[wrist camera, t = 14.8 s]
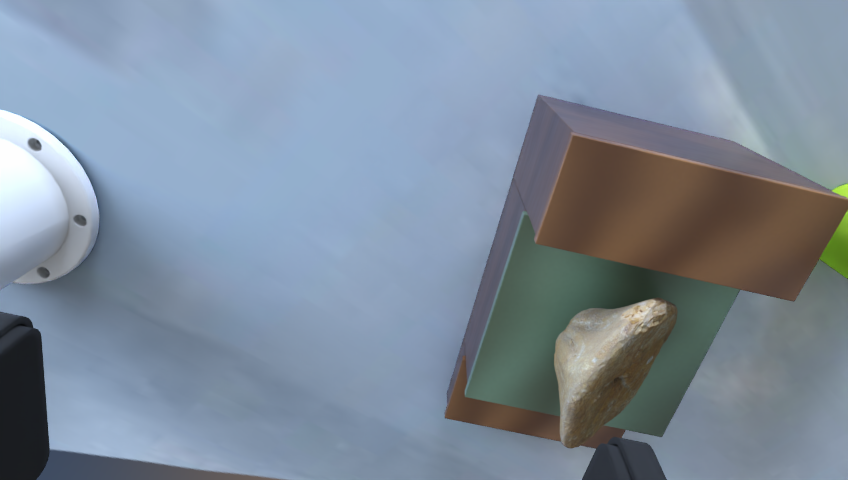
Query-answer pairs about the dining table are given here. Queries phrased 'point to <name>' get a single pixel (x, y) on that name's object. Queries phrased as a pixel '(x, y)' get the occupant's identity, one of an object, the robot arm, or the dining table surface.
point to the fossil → (606, 363)
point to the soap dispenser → (838, 242)
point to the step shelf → (627, 257)
